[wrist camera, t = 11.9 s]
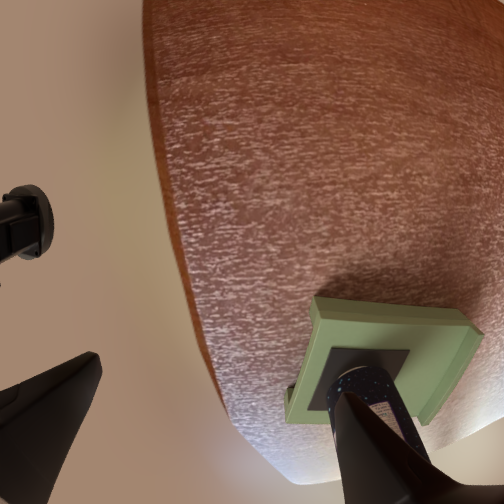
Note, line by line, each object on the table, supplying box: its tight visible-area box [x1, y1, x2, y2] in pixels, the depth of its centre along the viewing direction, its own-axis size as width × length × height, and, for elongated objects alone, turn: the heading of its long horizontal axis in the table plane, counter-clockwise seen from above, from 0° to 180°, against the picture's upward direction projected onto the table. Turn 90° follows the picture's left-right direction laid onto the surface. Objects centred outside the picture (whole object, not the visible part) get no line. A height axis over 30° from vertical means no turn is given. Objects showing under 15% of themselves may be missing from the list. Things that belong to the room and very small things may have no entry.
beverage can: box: [326, 366, 431, 467], centre depth 14 cm, size 6×6×12 cm
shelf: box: [284, 296, 484, 426], centre depth 21 cm, size 16×12×5 cm
